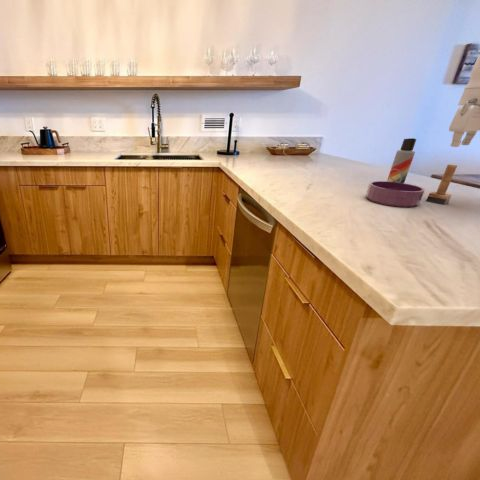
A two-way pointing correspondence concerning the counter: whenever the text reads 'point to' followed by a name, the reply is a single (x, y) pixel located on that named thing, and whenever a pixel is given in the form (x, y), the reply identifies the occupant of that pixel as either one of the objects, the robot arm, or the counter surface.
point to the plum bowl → (394, 193)
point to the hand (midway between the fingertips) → (459, 145)
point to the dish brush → (443, 187)
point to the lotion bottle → (402, 161)
